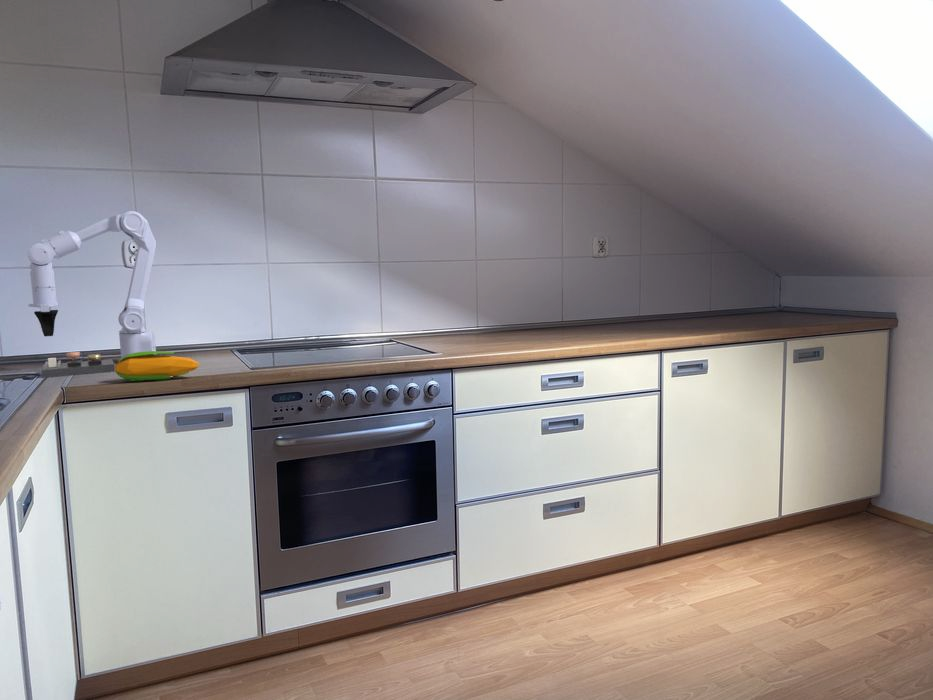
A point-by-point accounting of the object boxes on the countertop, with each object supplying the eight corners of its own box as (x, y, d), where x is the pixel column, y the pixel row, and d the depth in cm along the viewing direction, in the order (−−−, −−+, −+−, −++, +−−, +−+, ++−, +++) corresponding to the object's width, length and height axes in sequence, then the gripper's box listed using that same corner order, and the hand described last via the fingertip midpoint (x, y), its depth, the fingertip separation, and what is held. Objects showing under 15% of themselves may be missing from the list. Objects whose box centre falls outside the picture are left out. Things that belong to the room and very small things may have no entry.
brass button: (101, 361, 194) (100, 353, 194) (101, 362, 191) (100, 355, 191) (88, 362, 193) (87, 354, 192) (88, 363, 190) (87, 356, 190)
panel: (112, 366, 199) (111, 355, 199) (114, 371, 190) (113, 360, 189) (43, 371, 191) (42, 361, 191) (42, 377, 182) (41, 366, 181)
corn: (117, 349, 176) (200, 345, 181) (120, 378, 178) (202, 374, 182) (109, 355, 169) (196, 351, 174) (113, 385, 171) (198, 381, 175)
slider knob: (56, 365, 187) (55, 357, 186) (56, 366, 185) (55, 358, 185) (49, 366, 186) (48, 358, 186) (48, 367, 184) (47, 359, 184)
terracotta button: (80, 358, 192) (79, 351, 191) (80, 360, 189) (79, 352, 189) (67, 359, 190) (66, 352, 190) (67, 361, 187) (66, 353, 187)
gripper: (28, 287, 197) (33, 334, 199) (25, 289, 185) (30, 339, 186) (57, 286, 200) (61, 332, 202) (55, 288, 188) (60, 337, 190)
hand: (48, 336), depth 195 cm, fingers closed
